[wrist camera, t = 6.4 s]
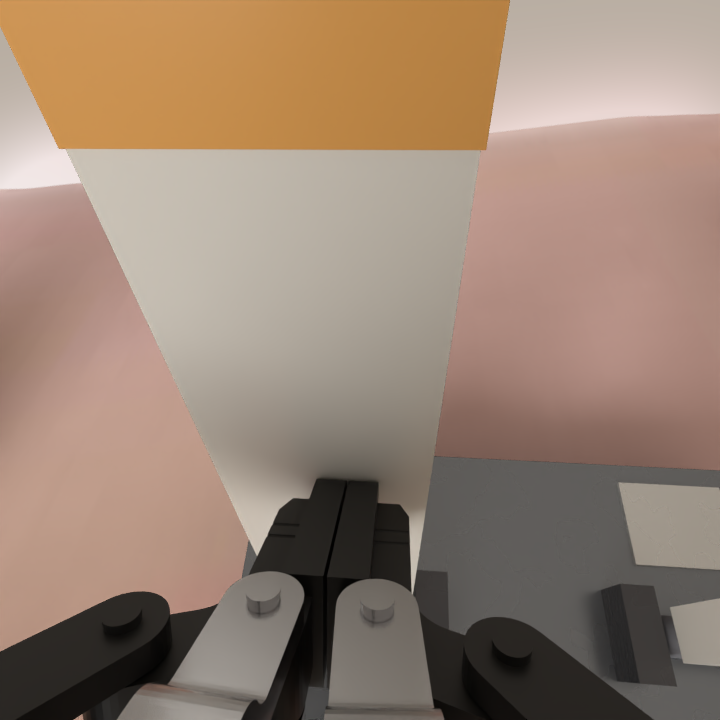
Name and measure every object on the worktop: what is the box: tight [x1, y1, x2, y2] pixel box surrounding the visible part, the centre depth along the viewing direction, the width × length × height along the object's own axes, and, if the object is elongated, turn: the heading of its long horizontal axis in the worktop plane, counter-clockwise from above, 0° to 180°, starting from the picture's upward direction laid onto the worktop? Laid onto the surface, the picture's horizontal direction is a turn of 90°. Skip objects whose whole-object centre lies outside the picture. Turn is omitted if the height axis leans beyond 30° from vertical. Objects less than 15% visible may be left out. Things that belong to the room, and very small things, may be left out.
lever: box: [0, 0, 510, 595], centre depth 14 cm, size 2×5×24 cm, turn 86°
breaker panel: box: [242, 456, 720, 720], centre depth 23 cm, size 16×27×7 cm, turn 86°
